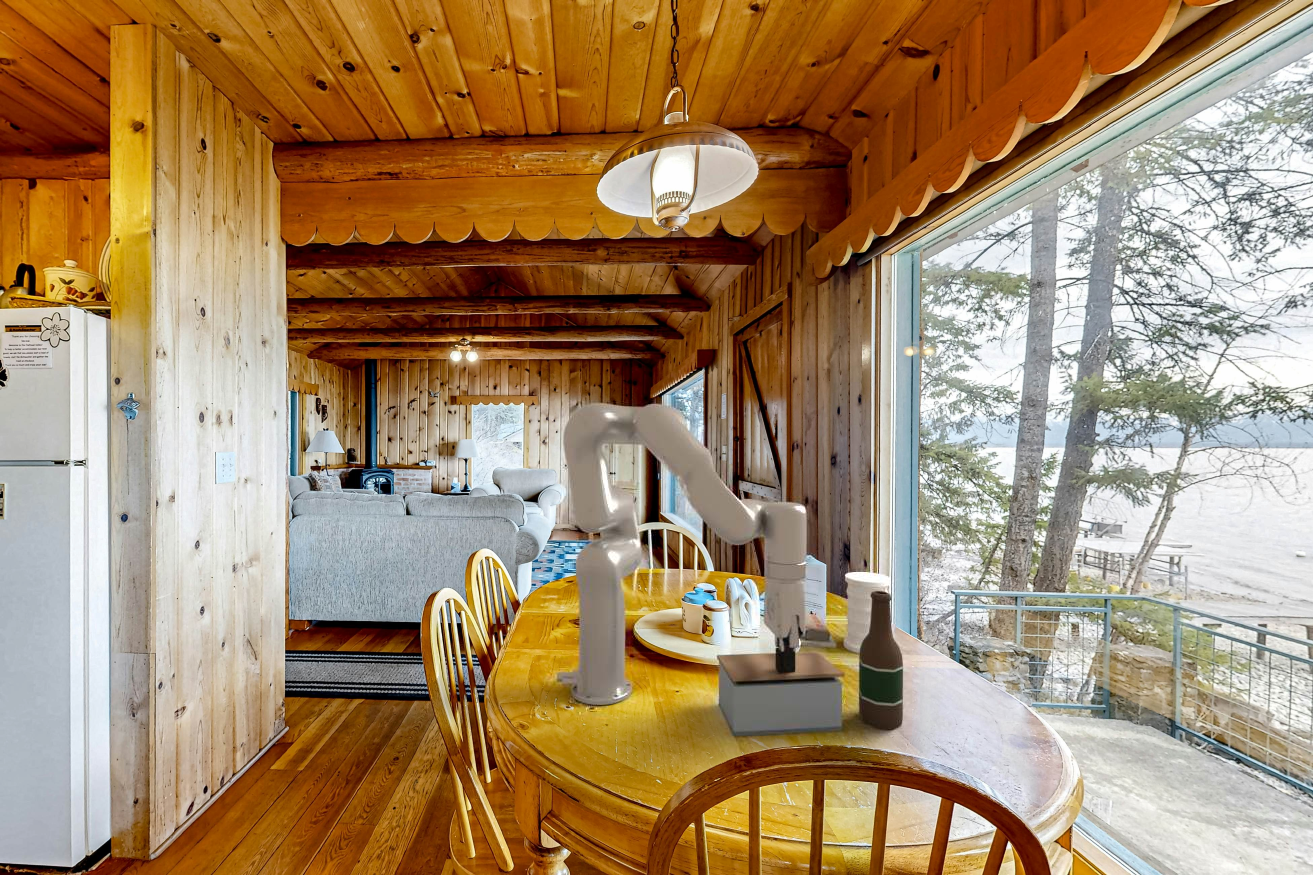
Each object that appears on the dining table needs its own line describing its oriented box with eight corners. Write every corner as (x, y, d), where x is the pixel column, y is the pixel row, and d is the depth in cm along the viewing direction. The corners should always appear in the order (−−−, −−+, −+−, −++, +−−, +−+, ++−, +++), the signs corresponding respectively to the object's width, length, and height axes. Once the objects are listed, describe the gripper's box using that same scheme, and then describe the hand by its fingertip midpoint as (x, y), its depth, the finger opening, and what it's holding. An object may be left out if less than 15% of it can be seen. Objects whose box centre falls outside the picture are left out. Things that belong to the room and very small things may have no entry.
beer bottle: (899, 735, 99) (900, 600, 99) (854, 723, 103) (854, 594, 103) (905, 716, 106) (906, 590, 106) (863, 706, 110) (863, 585, 110)
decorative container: (869, 637, 149) (869, 570, 150) (902, 652, 139) (902, 580, 139) (833, 642, 145) (834, 573, 146) (864, 658, 135) (865, 584, 135)
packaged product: (787, 608, 160) (822, 609, 159) (787, 625, 160) (822, 626, 159) (797, 629, 142) (837, 630, 142) (797, 648, 142) (837, 649, 141)
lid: (733, 681, 98) (733, 677, 98) (716, 658, 111) (716, 654, 111) (844, 676, 100) (844, 672, 100) (816, 654, 113) (815, 650, 113)
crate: (733, 736, 98) (734, 686, 98) (718, 704, 110) (718, 660, 110) (841, 730, 100) (842, 681, 100) (815, 700, 112) (815, 656, 112)
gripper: (753, 562, 109) (753, 656, 108) (779, 580, 94) (779, 689, 93) (790, 561, 109) (790, 654, 109) (821, 579, 95) (821, 687, 94)
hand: (785, 670), depth 101 cm, fingers closed
